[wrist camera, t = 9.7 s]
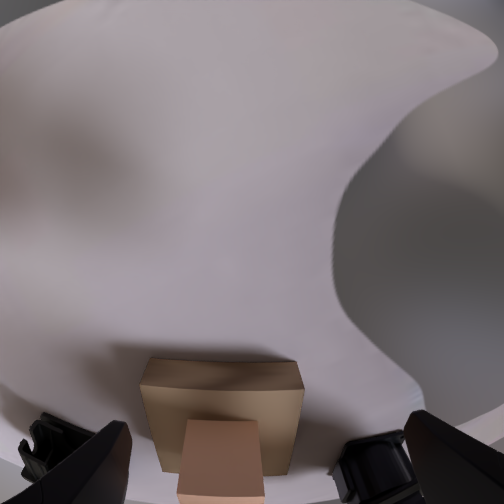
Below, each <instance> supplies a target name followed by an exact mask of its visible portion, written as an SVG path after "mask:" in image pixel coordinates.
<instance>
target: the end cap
mask: <svg viewBox="0 0 504 504" xmlns="http://www.w3.org/2000/svg"><path fill="white" fill-rule="evenodd" d="M40 418H41V420H36V421H34V423H33V424H32V426H30V429H29V431H30V434H31V437H32V440H33V442H34V449H33V451H32V452H31V449H30V447H29V444H28V442H27V440H25V439H23V440H22V441H21V442H20V445H19V447H18V451H19V453H20V456H21V458H22V460H23V462H24V464H25V466H24V468H23V470H22V472H21V475H22V477H23V478H24V479H26V480H27V481H29V482H32V483H35V482H36V481H37V480H39V479H41V477H43V476H44V475H45V474H46V473H48V472H49V471H50V470H52V469H53V468H54V467H55V466H57V465H58V464H59V463H61V462H62V461H63V460H64V459H66V458H67V457H68V456H69V455H71V454H72V453H73V452H74V451H76V450H77V449H78V448H79V447H81V446H82V445H83V444H84V443H86V442H87V441H88V440H89V439H91V438H92V437H93V436H94V435H95V433H92V432H90V431H87V430H85V429H82V428H80V427H77V426H75V425H72V424H70V423H68V422H65V421H63V420H61V419H59V418H56V417H54V416H52V415H50V414H48V413H45V412H43V413H42V414H41V416H40ZM128 477H129V471H128ZM127 485H128V478H127V484H126V488H125V492H124V496H123V500H122V503H121V504H124V500H125V496H126V491H127Z"/></svg>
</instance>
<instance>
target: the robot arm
mask: <svg viewBox="0 0 504 504" xmlns="http://www.w3.org/2000/svg"><path fill="white" fill-rule="evenodd" d="M404 440H405V441H406V444H407V448H408V452H409V455H410V459H411V462H410V460H409V458H408V456H407V454H406V452H405V450H404V448H403V447H402V443H403V442H404ZM131 449H132V437H131V434H130V431H129V428H128V425H127V423H126V422H124V421H118V420H113V421H111V422H110V423H109V424H108V425H106V426H105V427H104V428H103V429H102V430H100V431H99V432H98V433H97V434H95V435H94V436H93V437H92V438H91V439H89V440H88V441H87V442H86V443H84V444H83V445H82V446H81V447H79V448H78V449H77V450H76V451H74V452H73V453H72V454H71V455H69V456H68V457H67V458H66V459H64V460H63V461H62V462H61V463H59V464H58V465H57V466H55V467H54V468H53V469H52V470H50V471H49V472H48V473H46V474H45V475H44V476H43V477H41V479H39V480H37V481H36V482H35V483H33V484H32V485H31V486H29V487H28V488H26V489H25V490H24V491H22V492H21V493H19V494H17V495H16V496H14V497H12V498H10V499H9V500H7V501H5V502H3V503H1V504H121V503H122V500H123V496H124V492H125V488H126V484H127V478H128V470H129V463H130V456H131ZM332 477H333V480H335V483H336V486H337V490H338V493H339V497H340V500H341V502H342V503H347V504H504V454H503V453H501V452H497V450H495V449H493V448H491V447H489V446H487V445H485V444H484V443H482V442H480V441H478V440H476V439H474V438H473V437H471V436H469V435H467V434H465V433H463V432H462V431H460V430H458V429H456V428H455V427H453V426H451V425H449V424H447V423H446V422H444V421H442V420H440V419H439V418H437V417H435V416H433V415H432V414H430V413H428V412H427V411H425V410H417V411H413V412H412V413H411V414H410V416H409V418H408V420H407V422H406V424H405V426H404V430H403V431H401V432H397V433H393V434H388V435H384V436H379V437H374V438H369V439H364V440H358V441H352V442H349V443H347V444H346V445H345V447H344V449H343V452H342V454H341V457H340V459H339V460H338V461H337V464H336V466H335V469H334V471H333V476H332ZM422 496H424V497H422Z"/></svg>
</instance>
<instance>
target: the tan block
mask: <svg viewBox="0 0 504 504" xmlns="http://www.w3.org/2000/svg"><path fill="white" fill-rule="evenodd" d="M139 386H140V390H141V395H142V399H143V403H144V408H145V412H146V416H147V420H148V423H149V427H150V431H151V435H152V438H153V442H154V445H155V448H156V452H157V455H158V458H159V462H160V465H161V468H162V471H163V472H168V473H178V474H179V472H180V466H181V459H182V452H183V446H184V439H185V433H186V426H187V420H188V419H190V420H209V421H258V430H259V441H260V452H261V462H262V473H263V476H279V475H287V473H288V469H289V464H290V460H291V456H292V451H293V447H294V442H295V437H296V432H297V428H298V423H299V418H300V412H301V407H302V402H303V396H304V391H305V388H304V385H303V382H302V378H301V375H300V372H299V368H298V365H297V362H261V363H245V362H204V361H184V360H169V359H156V358H150V359H149V362H148V364H147V367H146V369H145V372H144V374H143V377H142V379H141V382H140V384H139Z"/></svg>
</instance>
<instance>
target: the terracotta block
mask: <svg viewBox="0 0 504 504" xmlns="http://www.w3.org/2000/svg"><path fill="white" fill-rule="evenodd" d="M177 497H178V499H179V502H180V504H264V498H265V493H264V483H263V473H262V462H261V452H260V441H259V430H258V421H209V420H190V419H188V420H187V426H186V433H185V439H184V446H183V452H182V459H181V466H180V472H179V479H178V487H177Z"/></svg>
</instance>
